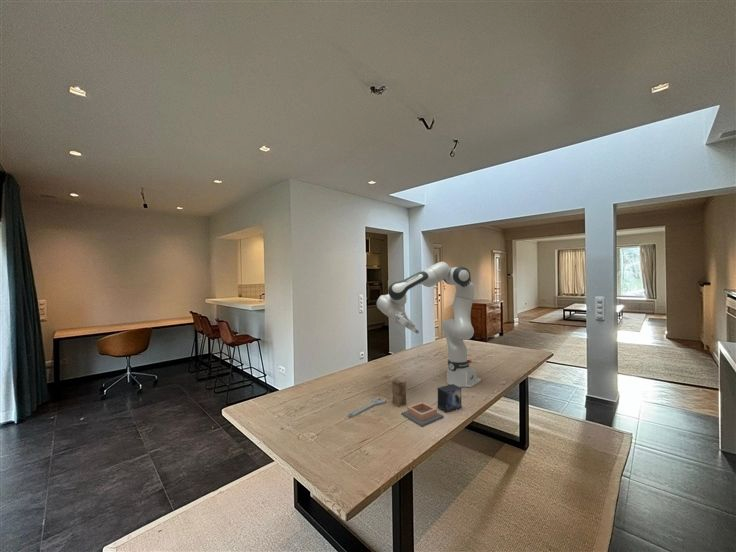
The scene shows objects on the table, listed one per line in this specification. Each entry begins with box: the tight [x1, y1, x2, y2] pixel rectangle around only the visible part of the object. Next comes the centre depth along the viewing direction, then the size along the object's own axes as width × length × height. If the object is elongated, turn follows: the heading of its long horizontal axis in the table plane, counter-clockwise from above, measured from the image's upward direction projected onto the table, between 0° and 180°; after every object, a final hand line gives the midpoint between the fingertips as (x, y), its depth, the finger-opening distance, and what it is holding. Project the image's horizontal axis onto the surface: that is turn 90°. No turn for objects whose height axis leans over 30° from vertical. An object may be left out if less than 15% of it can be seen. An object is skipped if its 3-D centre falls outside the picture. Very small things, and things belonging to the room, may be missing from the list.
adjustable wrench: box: [347, 397, 387, 419], centre depth 149 cm, size 25×6×2 cm, turn 131°
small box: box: [437, 384, 463, 413], centre depth 146 cm, size 11×6×10 cm, turn 115°
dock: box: [400, 401, 445, 428], centre depth 138 cm, size 14×14×4 cm
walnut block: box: [391, 378, 407, 408], centre depth 152 cm, size 5×5×12 cm
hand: (416, 331), depth 162 cm, fingers open, 8 cm apart
